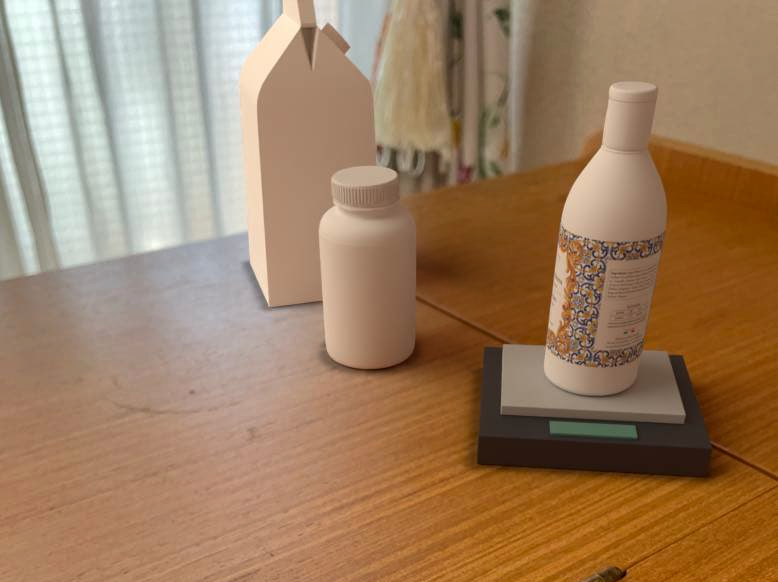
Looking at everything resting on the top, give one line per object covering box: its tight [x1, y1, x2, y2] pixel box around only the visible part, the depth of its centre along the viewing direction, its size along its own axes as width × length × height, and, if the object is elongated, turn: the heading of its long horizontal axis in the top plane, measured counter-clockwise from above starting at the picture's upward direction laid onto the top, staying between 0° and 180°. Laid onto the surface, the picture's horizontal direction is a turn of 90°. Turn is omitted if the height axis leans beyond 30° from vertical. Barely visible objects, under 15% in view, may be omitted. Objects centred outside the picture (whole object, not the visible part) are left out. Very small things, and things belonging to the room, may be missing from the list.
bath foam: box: [544, 80, 668, 396], centre depth 60 cm, size 7×7×20 cm
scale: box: [476, 343, 713, 478], centre depth 66 cm, size 16×14×3 cm
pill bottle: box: [319, 165, 417, 370], centre depth 72 cm, size 8×8×15 cm
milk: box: [238, 0, 378, 308], centre depth 82 cm, size 12×12×26 cm
